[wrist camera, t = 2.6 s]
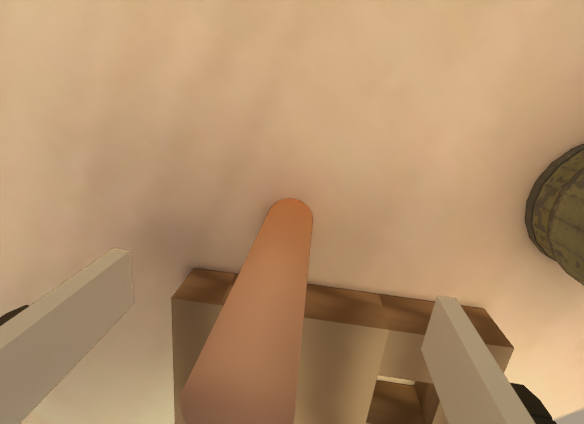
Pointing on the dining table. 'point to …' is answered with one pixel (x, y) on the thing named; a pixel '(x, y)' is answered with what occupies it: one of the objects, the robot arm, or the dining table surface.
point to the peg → (257, 331)
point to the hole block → (337, 351)
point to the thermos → (560, 212)
